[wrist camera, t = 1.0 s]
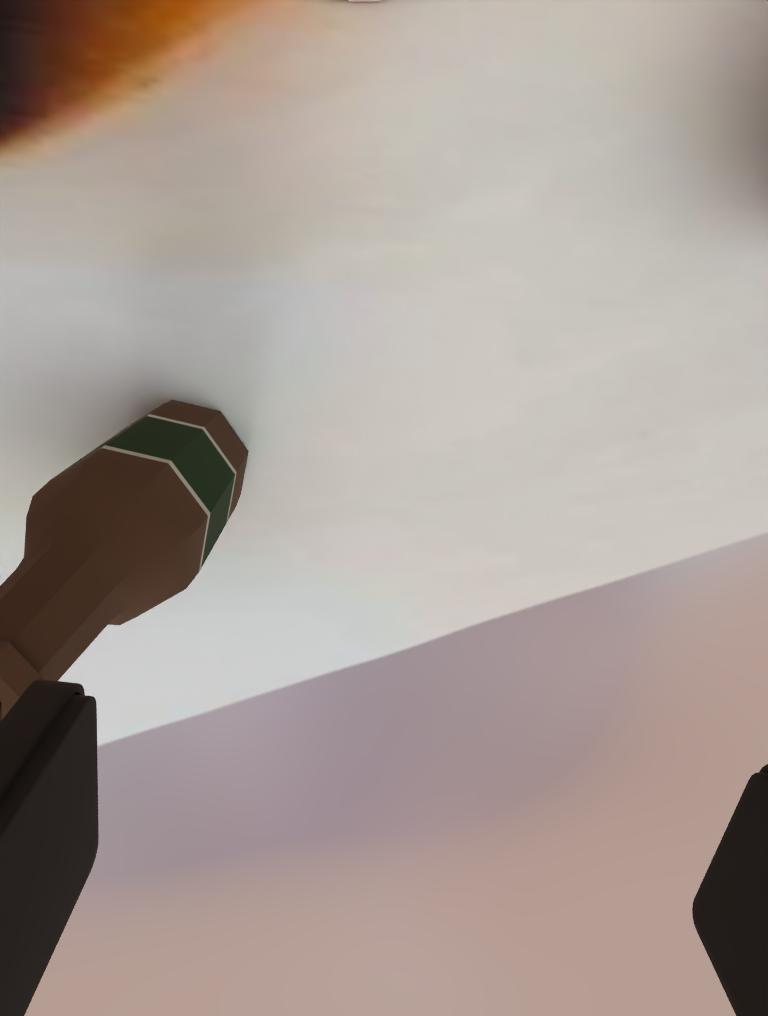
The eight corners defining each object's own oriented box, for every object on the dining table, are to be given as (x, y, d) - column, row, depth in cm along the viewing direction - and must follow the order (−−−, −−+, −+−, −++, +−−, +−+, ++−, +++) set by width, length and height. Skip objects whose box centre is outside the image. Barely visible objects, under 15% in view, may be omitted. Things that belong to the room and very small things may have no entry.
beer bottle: (264, 507, 42) (134, 799, 20) (146, 524, 42) (-115, 829, 20) (237, 387, 39) (48, 567, 17) (110, 406, 39) (-241, 607, 17)
